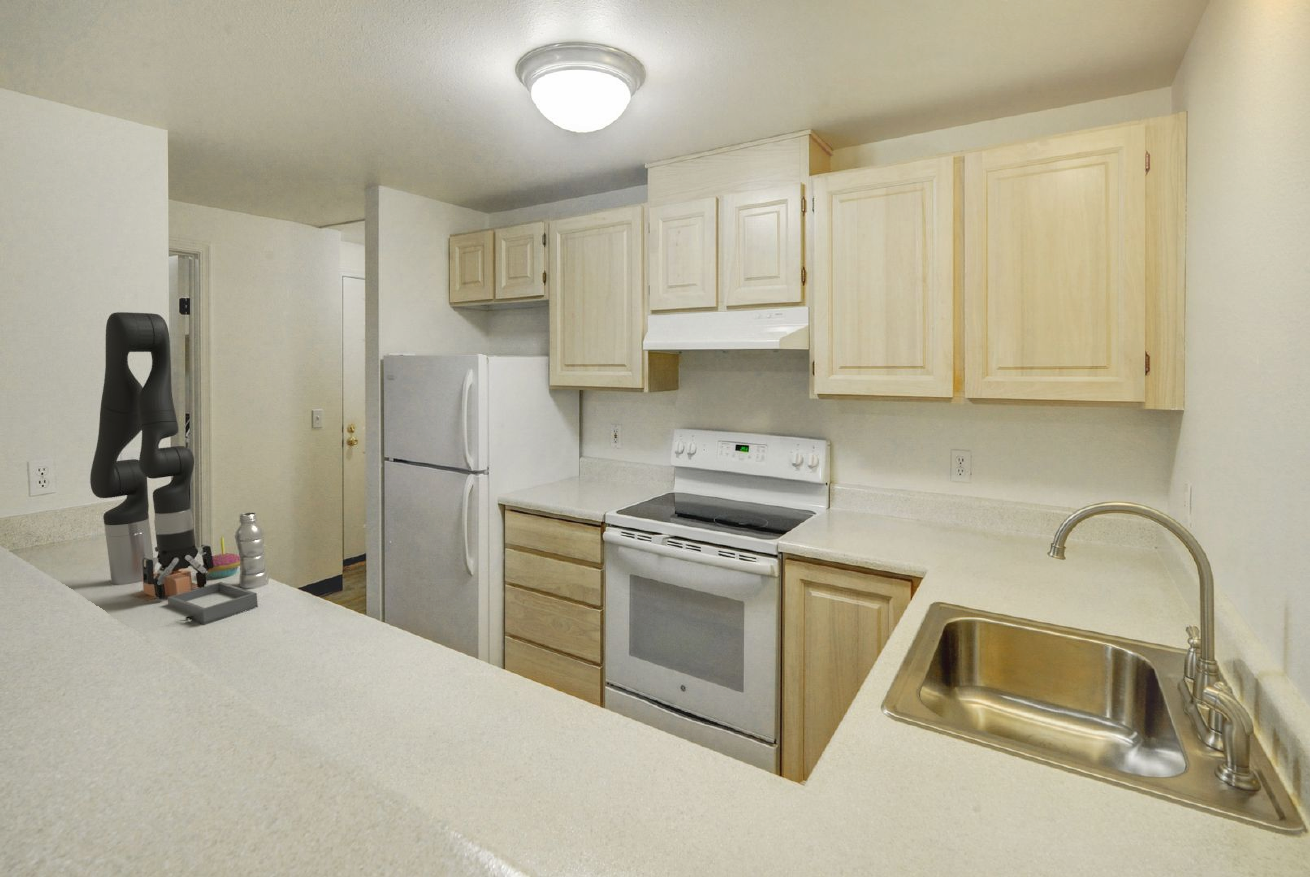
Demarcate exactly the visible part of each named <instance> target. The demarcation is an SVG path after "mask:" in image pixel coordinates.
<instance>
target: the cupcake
mask: <svg viewBox="0 0 1310 877" xmlns="http://www.w3.org/2000/svg"><path fill="white" fill-rule="evenodd" d="M220 546H221V547H220V548H221V553H219V554H215V555H212V558H213V564H214V567H213V568H212V569H209V570H207V571H206V573H208V574H209V575H210V576H211V578H213V579H219V578H220V579H222V578H227V577H231V576H233V575H236V573H237V571H238V568H239V567H240V556H239V555H238V554H235V553H226V551H225V539H224V536H223V534H221V537H220Z"/></svg>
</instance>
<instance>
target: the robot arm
mask: <svg viewBox="0 0 1310 877" xmlns="http://www.w3.org/2000/svg"><path fill="white" fill-rule="evenodd" d="M170 339H171V338H170V332H169V327H168V325H167V322H166V320H165V318H164V317H163V316H162V315H160V314H157V313H151V312H150V313H149V312H126V311H125V312H123V311H121V312H120V311H118V312H112V313H110V315H109V317H108V318H107V320H106V326H105V367H104V369H105V371H104V379H103V388H102V394H101V403H100V410H99V425H98V426H99V427H98V434H97V435H98V436H97V443H96V448H95V452H94V457H93V460H92V465H91V469H90V478H89V480H90V481H89V483H90V488H91V491H92V493H93V495H94V497H97V498H100V499H111V498H118V497H125V496H126V498H125V499H124V501H123V502H121V503H119V505H117V506H115V507H112V508H111V509H109V510H107V511H106V512H104V513H103V517H102V518H103V525H104V526H103V527H104V533H105V539H106V549H107V556H108V562H109V563H108V564H109V565H108V566H109V572H110V574H109V575H110V581H111V584H112V585H115V586H116V585H118V586H123V585H133V584H137V583H143V582H144V583H147V584H149V585H151V584H154V589H155V596H156V597H158V598H157V599H160V600H165V599H166V597H167V596H166V595H165V587H164V584H162V583H163V582H164V580H165V578H166V577H167V576H168V575H169V574H170V573H171V571H178V570H180V569H185V570H186V569H188V568H189V567H190V568H191V569H193V570H194V571H196V572H195V578H196V584H197V586H198V587H197V589H198V588H202V587H205V586H207V582H208V581H207V570H209V569H212V568H213V567H214V564H213V558H212V556H213V554H212V549H211V546H210V545H208V544H207V545H206V544H201V545H200V546H198V547H196V536H195V528H194V525H195V523H194V518H193V517H194V516H193V514H192V510H191V503H190V502H191V501H190V486H191V480H192V475H193V472H194V466H195V457H194V453H192V450H190V449H189V448H188V447H187V446H184V445H176V446H175V445H173V446H167V447H159V445H160V442H161V441H162V440H164V439H167V438H171V437H173V436H176V435H178V433H179V424H178V419H177V415H176V414H177V413H176V409H175V404H174V399H173V390H172V361H171V342H170V341H171V340H170ZM130 353H150V356H151V368H150V372H149V373H148V374H149V375H148V377H147V379H146V381H145V383H144V385H143V386H142V384H141V383H140V381H138V379H137V378H136V377H135V375H134V374H133V372H132V371H131V368H130V367H129V362H128V361H129V360H128V358H129V354H130ZM140 432H141V446H140V452H139V458H138V459H136V458H135V459H134V458H132V459H131V458H130V459H123V460H121V459H120V460H118V459H119V456H120V455H121V453H122V451H123V450H124V449H125V448H126V447H127V446H128V445H129V444H130V443H131V442H132V441H133V439H135V438H136V437H137V435H139V434H140ZM168 477H172V479H171V481H170V482H169V483H168V484H166V485H163V486H160V487H157V488H155V489H154V490H153V492H152V502H153V510H154V524H153V525H154V531H155V539H156V541H155V542H156V547H157V549H158V552H157V556H156V557H154V551H153V542H152V534H151V524H150V515H149V510H150V509H149V506H150V505H149V492H148V490H149V489H148V487H149V486H148V478H149V479H152V480H153V479H155V480H156V479H161V478H162V479H163V478H168ZM198 554H199V555H201V557H202V563H203V564H202V565H201V563H199V561H197V560H196V559H195V558H196V557H197V556H198ZM157 563H158V564H160V566H159V568H158V569H157V571H156V569H155V568H156V565H157ZM154 572H157V574H156V576H155V577H154ZM142 575H143V581H142Z"/></svg>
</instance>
